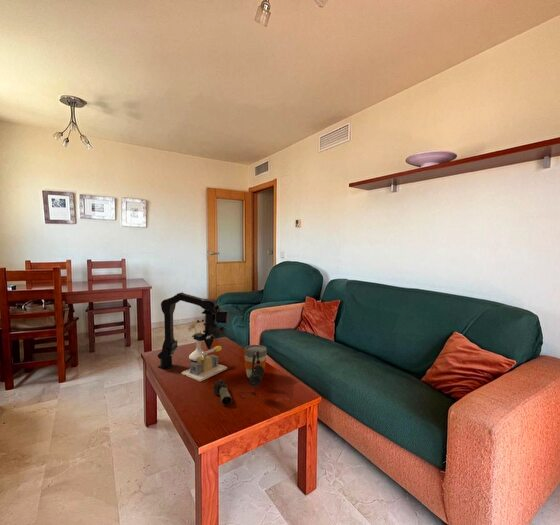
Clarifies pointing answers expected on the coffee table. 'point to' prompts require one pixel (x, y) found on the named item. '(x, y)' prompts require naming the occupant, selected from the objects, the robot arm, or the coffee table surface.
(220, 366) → the mounting board
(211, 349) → the valve lever
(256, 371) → the headphones
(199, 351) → the white rounded piece
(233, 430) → the coffee table surface
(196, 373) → the blocks
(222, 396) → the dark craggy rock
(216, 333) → the robot arm
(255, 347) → the reusable coffee cup
